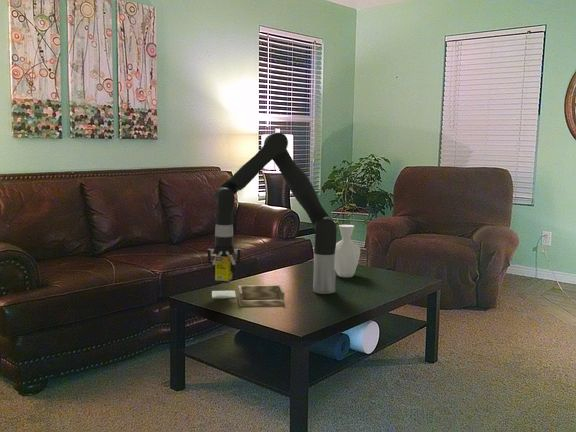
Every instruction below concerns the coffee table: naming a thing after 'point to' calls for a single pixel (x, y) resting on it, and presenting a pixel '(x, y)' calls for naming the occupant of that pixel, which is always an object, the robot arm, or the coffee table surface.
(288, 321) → the coffee table surface
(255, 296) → the crate
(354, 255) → the vase
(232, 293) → the pad
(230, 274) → the supplement box
